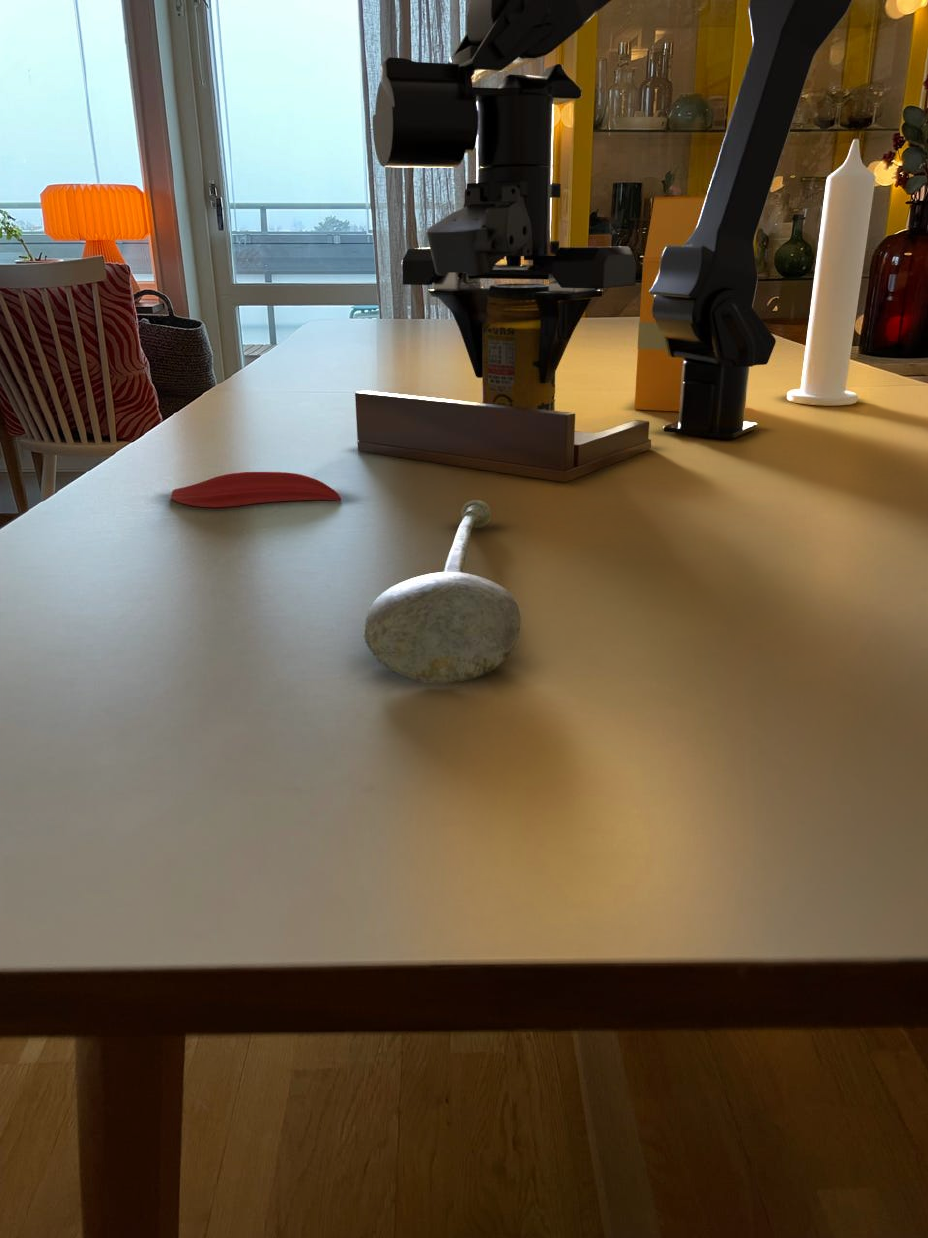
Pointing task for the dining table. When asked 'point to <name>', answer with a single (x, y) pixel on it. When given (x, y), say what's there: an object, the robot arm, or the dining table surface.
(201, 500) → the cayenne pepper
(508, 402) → the condiment
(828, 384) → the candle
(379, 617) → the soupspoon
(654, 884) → the dining table surface
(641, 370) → the orange juice
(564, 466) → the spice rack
